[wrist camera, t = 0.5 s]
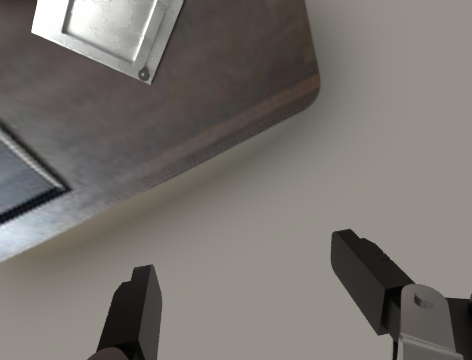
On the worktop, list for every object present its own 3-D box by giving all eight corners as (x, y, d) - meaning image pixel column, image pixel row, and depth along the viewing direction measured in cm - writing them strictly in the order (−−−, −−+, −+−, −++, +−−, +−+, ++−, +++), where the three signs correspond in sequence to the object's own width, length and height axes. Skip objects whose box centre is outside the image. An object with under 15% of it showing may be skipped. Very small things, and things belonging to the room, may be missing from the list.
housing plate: (33, 30, 29) (26, 34, 27) (57, -83, 25) (50, -88, 23) (149, 82, 35) (150, 89, 33) (183, -3, 31) (187, -1, 29)
